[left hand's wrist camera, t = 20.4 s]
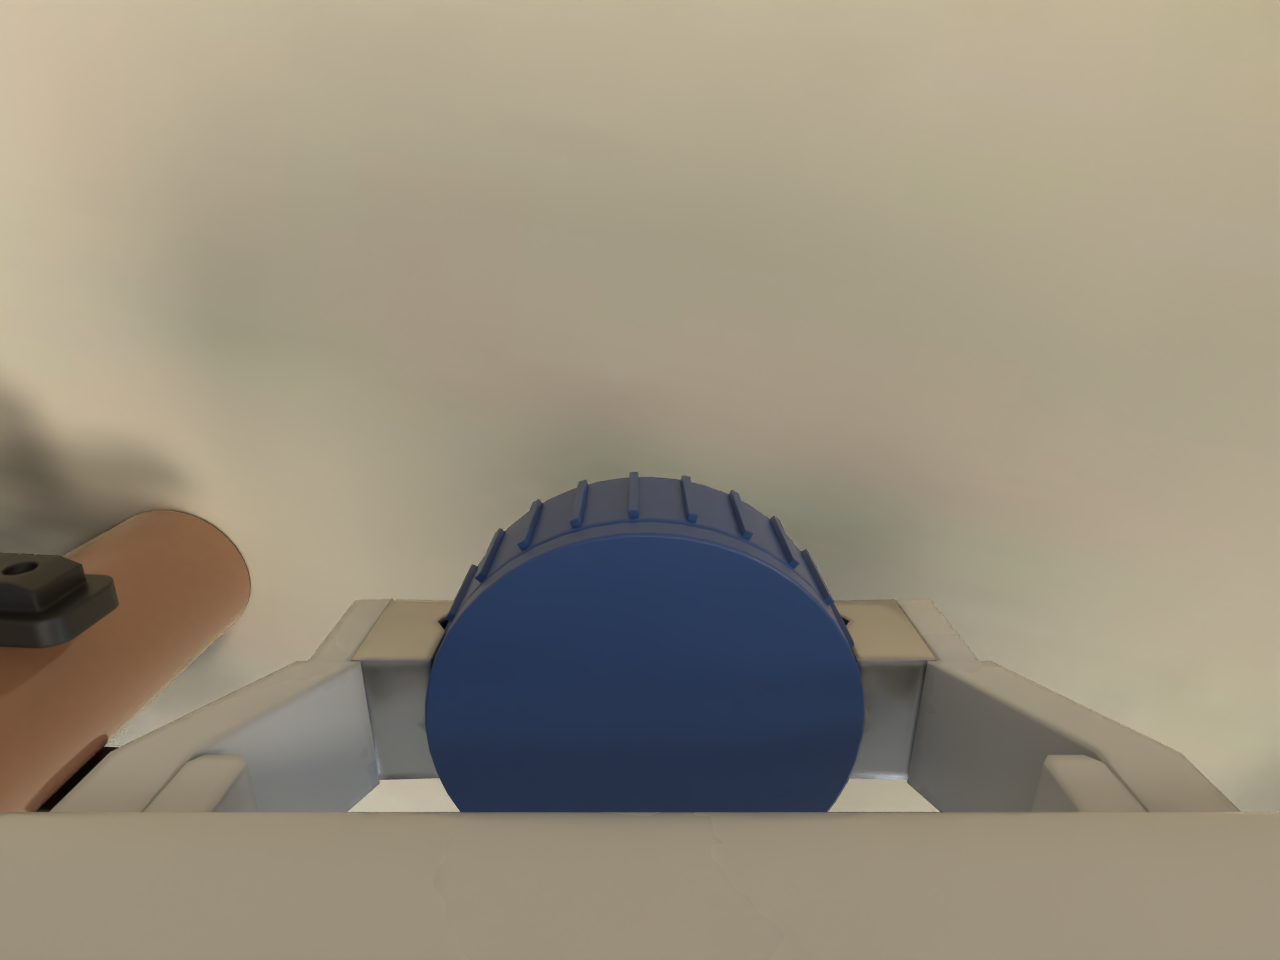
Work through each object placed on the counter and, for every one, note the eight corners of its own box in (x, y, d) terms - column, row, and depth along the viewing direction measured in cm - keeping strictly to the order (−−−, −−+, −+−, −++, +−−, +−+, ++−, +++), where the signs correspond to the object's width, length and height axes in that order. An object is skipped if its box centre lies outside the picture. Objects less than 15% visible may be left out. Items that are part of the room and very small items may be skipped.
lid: (768, 409, 9) (800, 456, 7) (872, 733, 10) (918, 832, 9) (388, 547, 9) (332, 620, 8) (547, 830, 11) (530, 940, 9)
